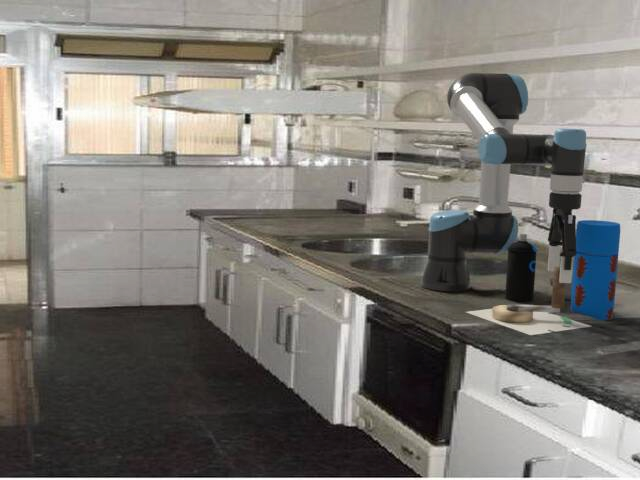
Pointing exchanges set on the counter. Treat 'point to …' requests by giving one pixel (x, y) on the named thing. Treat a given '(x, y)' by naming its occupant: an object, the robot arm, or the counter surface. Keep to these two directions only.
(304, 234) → the counter surface
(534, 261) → the aerosol can
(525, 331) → the scale board
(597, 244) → the thermos
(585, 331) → the counter surface
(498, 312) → the crank
